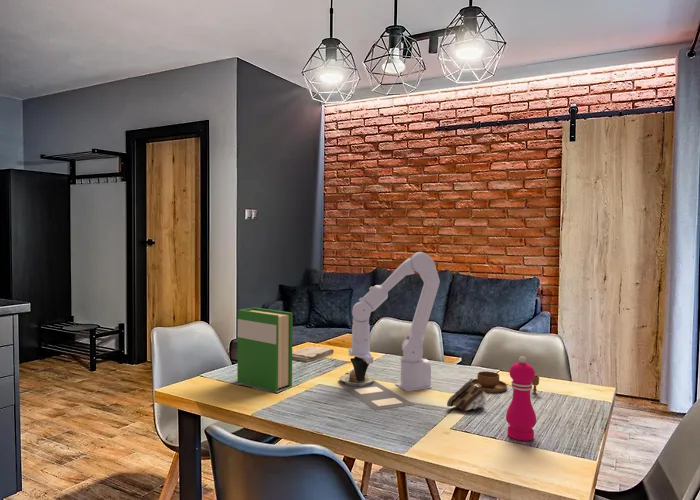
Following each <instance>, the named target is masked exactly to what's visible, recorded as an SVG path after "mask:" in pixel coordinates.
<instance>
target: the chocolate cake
mask: <svg viewBox="0 0 700 500" xmlns="http://www.w3.org/2000/svg"><path fill="white" fill-rule="evenodd" d="M472 380H473V378H470V379H469V380H468V381H467V382H465V383H464V384H463V385H462V386H461V387H460V388H459V389H458V390H457V391H456V392H455V393H454V394H452V395H451V396H450V397H449V398H448V400H447V403H446V407H451V408H452V407H456V408H459V409H460V410H461V411H463V412H465V411H469V410H472V409H473V410H475V411H479V408H484V407H485V406H486V400H487V399H486V393H487V392H484V391H482V390H481V389H479V388H477V387H476V386H474V385H473V384H472Z"/></svg>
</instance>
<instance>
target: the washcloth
mask: <svg viewBox="0 0 700 500" xmlns="http://www.w3.org/2000/svg"><path fill="white" fill-rule="evenodd" d="M334 351H335V350H334V349H332V348H327V347H319V346H318V347H317V346H312V345H311V346H307V347H302V348H299V349H296V350H292V361H293V360H294V361H299V362H305V363H309V362H313V361H316V360H320V359H323V358H326V357H328V356H331V355H333V354H334V353H335V352H334Z"/></svg>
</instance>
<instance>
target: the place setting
mask: <svg viewBox="0 0 700 500" xmlns="http://www.w3.org/2000/svg"><path fill="white" fill-rule="evenodd" d="M531 383H532V384H533V385H532V386H533V387H532V391H533V392H530V395H532V396H538V395H539V393H538V392H537V386H538V385H539V384H540V376H539V375H535V377H534V379H533V380H532V381H531ZM472 384H473V385H475V384H477V385H478V386H479V387H477V386H476V387H477V388H479V389H481V390H482V391H484V392H485V393H487V394H488V393H492V394H495V393H502V392H505V391H506V390H507V389H508V386H510V387H511V385H512V384H508V383H507V382H504V381H502V380H500V374H499V373H497V372H495V371H483V370H482V371H479V372H477V378H474V379H473V378H472Z"/></svg>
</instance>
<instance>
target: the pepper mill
mask: <svg viewBox="0 0 700 500" xmlns="http://www.w3.org/2000/svg"><path fill="white" fill-rule="evenodd" d="M509 376H510V378H511V379H512V381H511V384H510V385H511V386H510V387H511V388H512V400H511V401H510V403H509V406H508V408H507V410H506V413H505V420H506V422H507V424H508V426H507V436H508V437H509V438H511V439H514V440H517V441H521V442H522V441H526V442H527V441H532V440H533V439H534V438H535V430H534V429H533V428H534V427H535V426H536V424H537V415H536V410H534V407H533V404H532V401H531V400H532V399H531V393H532V392H531V390H532V391H533V386H534V385H533V384H532V383H531V381H532V380H533V379H534V377H535V376H536V372H535V369H534V367H533V366H532V365H531V364H529V363H528V362H527V358H526V357H525V356H522V355H521V356H520V357H519V358H518V362H515V363H513V364H512V365H511V366H510V368H509Z"/></svg>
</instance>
